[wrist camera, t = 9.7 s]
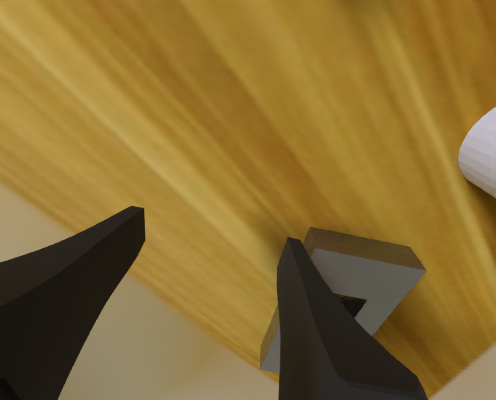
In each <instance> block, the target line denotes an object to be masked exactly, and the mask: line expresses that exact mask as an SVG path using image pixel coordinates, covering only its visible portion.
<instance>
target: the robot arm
mask: <svg viewBox="0 0 496 400" xmlns="http://www.w3.org/2000/svg"><path fill="white" fill-rule="evenodd" d="M458 163H459V168H460V171H461V173H462V175H463V176H464V177H465V178H466V179H467V180H469V181H470V182H472V183H473V184H475V185H476V186H478V187H479V188H481V189H482V190H484V191H486V192H487V193H489V194H490V195H492V196H493V197H495V198H496V107H495V108H494V109H492V110H491V111H490V112H488V113H487V114H486V115H484V116H483V117H482V118H481V119H480V120H479V121H478V122H477V123H476V124H475V125H474V126H473V127H472V129H471V130H470V131H469V133H468V134H467V136H466V137H465V139H464V141H463V143H462V145H461V148H460V151H459V157H458ZM144 242H145V219H144V208H140V207H135V206H130V207H128V208H126V209H124V210H123V211H121V212H119V213H117V214H115V215H113V216H111V217H110V218H108V219H106V220H104V221H102V222H100V223H98V224H96V225H94V226H93V227H90V228H88V229H86V230H84V231H82V232H80V233H78V234H76V235H74V236H72V237H69V238H67V239H65V240H63V241H60V242H58V243H55V244H53V245H50V246H48V247H45V248H43V249H40V250H37V251H35V252H31V253H28V254H25V255H22V256H19V257H17V258H13V259H10V260H8V261H4V262H0V400H58V397H59V395H60V393H61V391H62V389H63V386H64V384H65V382H66V380H67V378H68V376H69V373H70V371H71V369H72V367H73V365H74V363H75V361H76V359H77V357H78V355H79V353H80V351H81V349H82V347H83V345H84V343H85V341H86V339H87V337H88V335H89V333H90V331H91V329H92V327H93V326H94V324H95V322H96V320H97V318H98V316H99V315H100V313H101V311H102V309H103V307H104V305H105V304H106V302H107V301H108V299H109V297H110V296H111V294H112V293H113V292H114V290H115V288H116V287H117V285H118V284H119V283H120V281H121V280H122V278H123V277H124V275H125V274H126V273H127V271H128V270H129V268H130V267H131V265H132V264H133V262H134V261H135V259H136V258H137V256H138V254H139V252H140V250H141V248H142V246H143V244H144ZM277 296H278V309H279V322H280V376H279V400H428V398H427V396H426V394H425V392H424V389H423V387H422V385H421V383H420V381H419V379H418V377H417V376H416V375H415V374H413V373H412V372H411V371H410V370H409V369H408V368H406V367H405V366H404V365H403V364H402V363H400V362H399V361H398V360H397V359H396V358H395V357H393V356H392V355H391V354H390V353H389V352H388V351H387V350H386V349H384V348H383V347H382V346H381V345H380V344H379V343H378V342H377V341H376V340H375V339H374V338H373V337H372V336H371V335H370V334H369V333H368V332H367V331H366V330H365V329H364V328H363V327H362V326H361V325H360V324H359V323H358V322H357V321H356V320H355V319H354V318H353V316H352V315H351V314H350V313H349V312H348V311H347V310H346V308H345V307H344V306H343V305H342V303H341V302H340V301H339V300H338V299H337V297H336V296H335V295H334V293H333V292H332V291H331V289H330V288H329V287H328V285H327V284H326V282H325V281H324V279H323V278H322V276H321V275H320V273H319V271H318V270H317V268H316V267H315V265H314V263H313V262H312V260H311V258H310V257H309V255H308V253H307V251H306V249H305V248H304V246H303V244H302V242H301V241H300V240H299V239H294V238H289V237H288V239H287V241H286V244H285V247H284V250H283V252H282V255H281V258H280V261H279V263H278V267H277Z"/></svg>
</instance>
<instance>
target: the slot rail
mask: <svg viewBox="0 0 496 400" xmlns="http://www.w3.org/2000/svg"><path fill="white" fill-rule="evenodd" d="M303 246H304V248H305V249H306V251H307V253H308V255H309V257H310V258H311V260H312V262H313V263H314V265H315V267H316V268H317V270H318V271H319V273H320V275H321V276H322V278H323V279H324V281H325V282H326V284H327V285H328V287H329V288H330V289H331V291H332V292H333V293H335V294H340V295H346V296H345V298H344V299H342V298H337V299H338V300H339V301H340V302H341V303H342V305H343V306H344V307H345V308H346V310H347V311H348V312H349V313H350V314H351V315H352V316H353V318H354V319H355V320H356V321H357V322H358V323H359V324H360V325H361V326H362V327H363V328H364V329H365V330H366V331H367V332H368V333H369V334H370V335H371V336H373V334H374V333H375V332H376V331H377V330H378V328H379V327H380V326H381V325H382V323H383V322H384V321H385V320H386V319H387V317H388V316H389V315H390V314H391V313H392V311H393V310H394V309H395V308H396V307H397V305H398V304H399V303H400V302H401V301H402V299H403V298H404V297H405V296H406V295H407V293H408V292H409V291H410V290H411V289H412V287H413V286H414V285H415V284H416V283H417V281H418V280H419V279H420V278H421V277H422V275H423V274H424V273H425V272H426V269H425V268H424V267H423V265H422V264H421V262H420V261H419V260H418V258H417V257H416V255H415V254H414V253H413V251H412V250H411V248H410V247H406V246H401V245H396V244H391V243H386V242H381V241H377V240H372V239H367V238H362V237H357V236H352V235H347V234H342V233H337V232H332V231H327V230H323V229H318V228H313V227H310V228H309V231H308V233H307V236H306V238H305V241H304V243H303ZM260 370H265V371H271V372H276V373H280V322H279V309H278V306H277V308H276V311H275V313H274V316H273V318H272V320H271V323H270V325H269V328H268V330H267V333H266V335H265V337H264V340H263V342H262V345H261V356H260Z"/></svg>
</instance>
